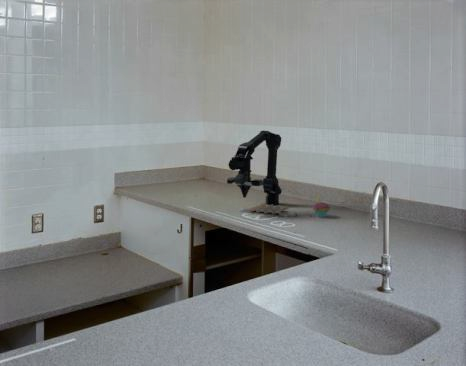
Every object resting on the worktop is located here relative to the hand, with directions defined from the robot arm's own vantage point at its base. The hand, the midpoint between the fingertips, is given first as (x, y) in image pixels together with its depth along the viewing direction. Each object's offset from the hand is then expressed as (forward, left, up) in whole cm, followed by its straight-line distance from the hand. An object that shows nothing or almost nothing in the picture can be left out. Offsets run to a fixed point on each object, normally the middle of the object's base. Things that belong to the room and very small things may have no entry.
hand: (244, 197), depth 294 cm
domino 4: (-12, +12, -6) cm, 18 cm away
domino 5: (-15, +14, -6) cm, 22 cm away
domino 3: (-9, +8, -6) cm, 14 cm away
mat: (-8, +8, -7) cm, 13 cm away
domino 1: (-3, +2, -6) cm, 7 cm away
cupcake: (-34, +23, -8) cm, 41 cm away
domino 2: (-6, +5, -6) cm, 10 cm away
